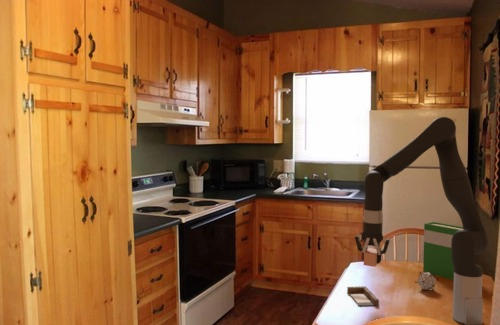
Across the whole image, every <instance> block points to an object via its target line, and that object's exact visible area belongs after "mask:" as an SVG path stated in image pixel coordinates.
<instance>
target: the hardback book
mask: <svg viewBox="0 0 500 325" xmlns="http://www.w3.org/2000/svg"><path fill="white" fill-rule="evenodd" d="M423 224H424V226H423V228H424V229H423V230H424V231H423V233H424V234H423V267H422V268H423V269H422V273H426V272H428V271H430V272H429V273H430V274H432V275H433V276H436V277H440V278H443V279H446V280H447V279H448V280H451V281H454V267H453V264H452V254H451V241H452V237H453V234H454V233H455V232H456V231H459V230H464V229H463V226H460V225H455V224H454V225H453V224H448V223H442V222H437V221H430V222H426V223H423Z"/></svg>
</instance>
